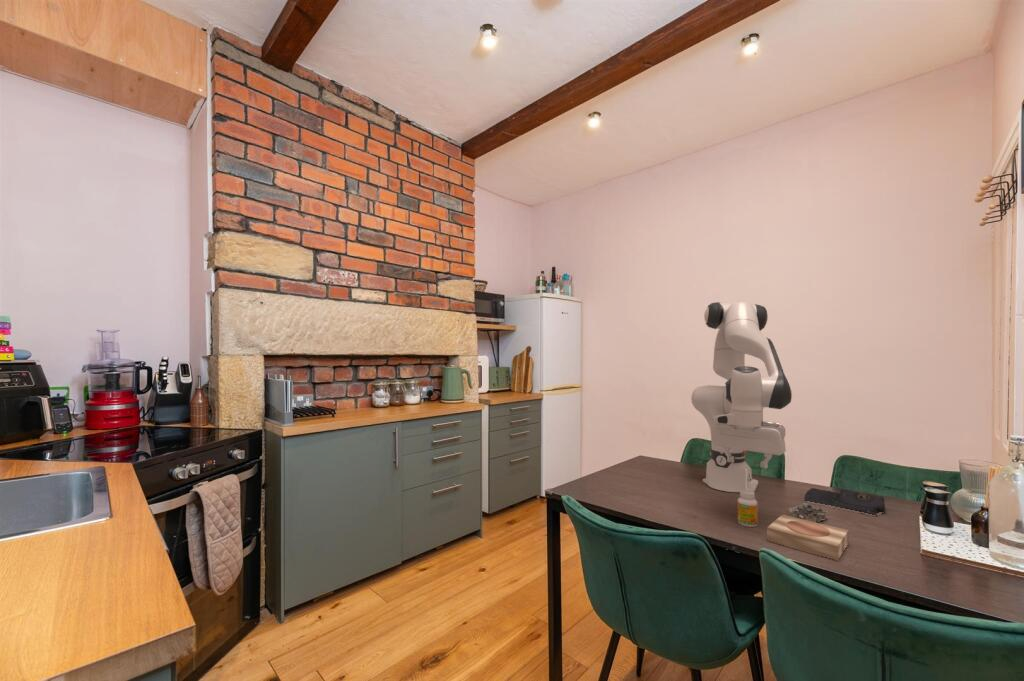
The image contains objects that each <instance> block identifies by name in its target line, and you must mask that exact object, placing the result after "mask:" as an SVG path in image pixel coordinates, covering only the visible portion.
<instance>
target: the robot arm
mask: <svg viewBox="0 0 1024 681" xmlns="http://www.w3.org/2000/svg"><path fill="white" fill-rule="evenodd" d="M768 315H769V314H768V311H767V309H766V307H765V306H764V305H760V304H757V303H755V304H751V303H749V302H747V301H736V302H719V301H717V302H715V301H714V302H711V303H710V304H708V305H707V307H706V308H705V310H704V322H705V325H706V326H707V327H708V328H710V329H714V330H718V331H717V334H716V337H715V342H714V347H713V348H714V349H713V363H712V370H713V371H714V373H715V374H716V375H718V377H720V378H722V379H724V380H727V381H725V383H724V384H725V385H710V384H708V385H702V386H697V387H695V389H693V391H692V394H691V397H690V398H691V400H690V401H691V404H692V406H693V408H694V409H695V410H696V411H698V412H699V413H700V414H701V415H702V416H703V418H704V419H705V421H706V422H707V424H708V426H709V431H710V440H711V448H710V449H709V450H710V451H709V456H710V457H709V458H710V459H709V460H708V461H707V462H706V471H705V473H706V475H705V478H702V482H703V483H704V484H706V485H707V486H708V487H710V488H711V489H714V490H717V491H718V490H719V491H722V492H727V493H728V492H729V493H740V490H749V491H753V492H754V493H755V492H756V489H757V487H758V485H759V480H757V479H755V478H753V476H752V475H753V474H752V472H753V471H752V468H751V467H750V465H749V464H748V463H747V462H746V456H747V452H754V453H760V454H764V455H763V456H764V457H765V459H764V461H763V460H762V461H760V466H759V467H760V468H761V469H768V466H769V465H768V464H769V461H770V460H771V459H772V457H773V455H775V456H782V455H783V454H785V453H786V442H785V437H786V428H785V426H784V425H782V424H781V423H779V422H771V421H770V422H769V421H765V420H764V409H765V408H768V409H774V410H775V409H776V410H782V409H783V408H786V407H787V406H788V405H789V404H790V403H791V402H792V398H793V392H792V391H793V390H792V388H791V385H790V383H789V381H788V379H787V376H786V375H785V372H784V369H783V367H782V364H781V361H780V360H781V359H780V358H779V355H778V353H777V349H776V348H775V345H774V343H773V341H772V340H771V339H770V338H768V337H766V336H765V335H764V334H763V333H762V332H761V331H762V330H763V329H765V328H766V326H767V324H768V321H769V320H768V318H769V317H768ZM745 355H748V356H752V357H754V358H757V359H759V360H760V361H762V362H763V363H764V365H765V368H766V372H767V375H768V376H762V374H761V371H760V369H759V368H757V367H754V366H749V365H748V366H747V365H746V366H745V358H746V356H745Z"/></svg>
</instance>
